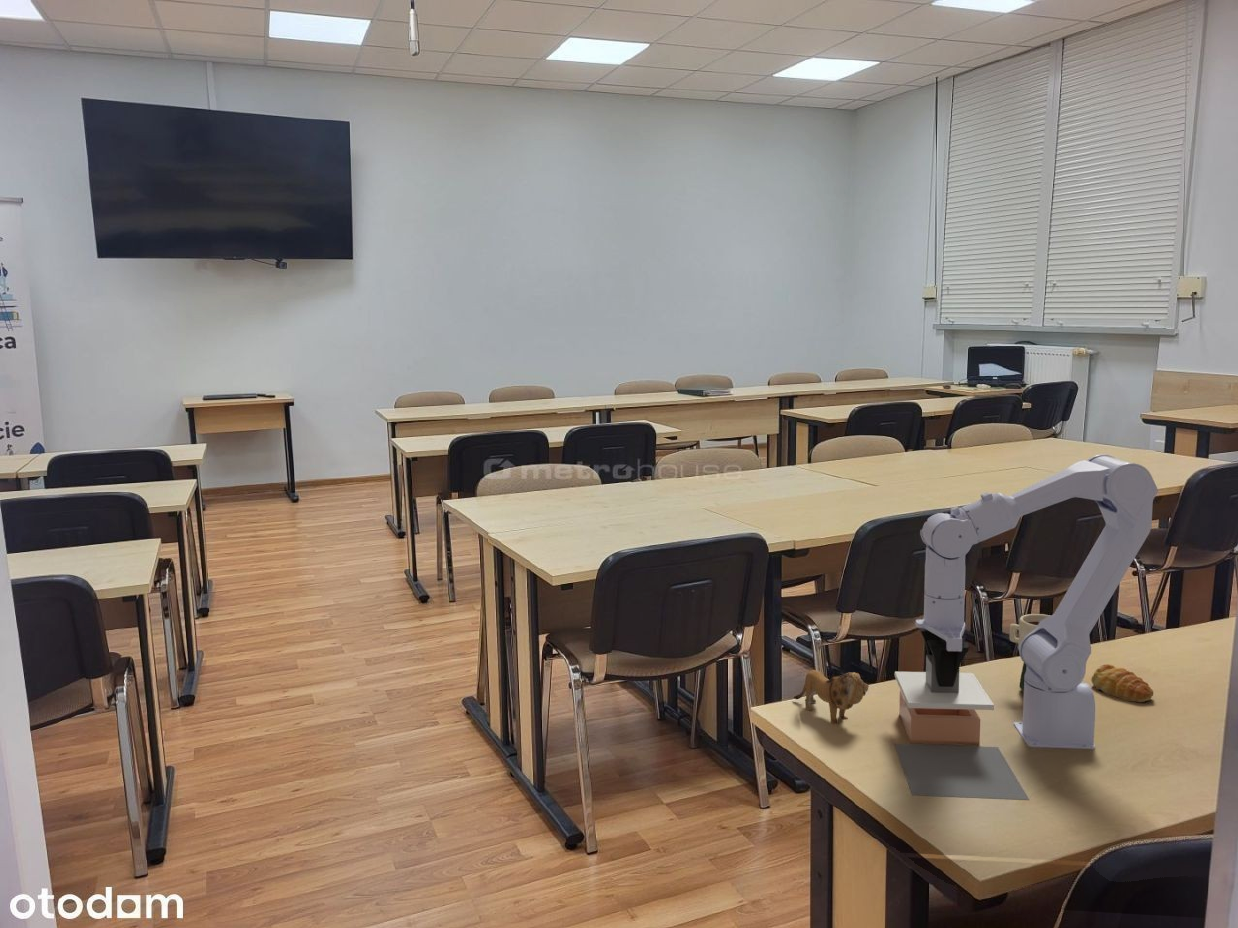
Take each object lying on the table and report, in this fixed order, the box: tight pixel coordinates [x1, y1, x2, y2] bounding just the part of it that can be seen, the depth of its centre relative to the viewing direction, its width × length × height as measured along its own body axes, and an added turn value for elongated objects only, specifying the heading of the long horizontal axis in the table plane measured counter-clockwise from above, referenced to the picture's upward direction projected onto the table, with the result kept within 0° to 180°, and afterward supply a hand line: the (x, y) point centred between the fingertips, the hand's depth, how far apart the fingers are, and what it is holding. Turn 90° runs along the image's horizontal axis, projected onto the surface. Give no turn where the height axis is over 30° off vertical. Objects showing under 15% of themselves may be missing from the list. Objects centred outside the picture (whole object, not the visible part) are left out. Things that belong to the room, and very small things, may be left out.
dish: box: [898, 689, 981, 746], centre depth 139 cm, size 10×10×4 cm
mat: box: [893, 743, 1030, 801], centre depth 127 cm, size 15×15×1 cm
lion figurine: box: [793, 669, 870, 725], centre depth 146 cm, size 15×5×9 cm, turn 36°
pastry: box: [1091, 663, 1154, 703], centre depth 151 cm, size 9×7×4 cm
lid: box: [894, 654, 995, 711], centre depth 136 cm, size 12×12×5 cm
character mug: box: [1009, 613, 1052, 692], centre depth 151 cm, size 11×7×13 cm, turn 42°
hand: (942, 679), depth 136 cm, fingers closed on lid, 4 cm apart
